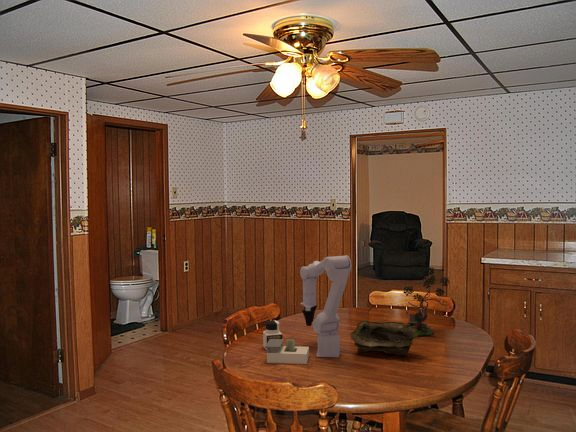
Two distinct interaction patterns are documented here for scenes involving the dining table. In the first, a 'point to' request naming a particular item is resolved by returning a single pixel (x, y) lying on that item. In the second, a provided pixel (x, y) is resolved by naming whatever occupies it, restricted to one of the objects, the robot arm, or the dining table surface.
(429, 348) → the dining table surface
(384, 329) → the dark green planter
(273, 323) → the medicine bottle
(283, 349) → the socket board
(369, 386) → the dining table surface
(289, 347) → the dowel
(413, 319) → the bonsai tree
